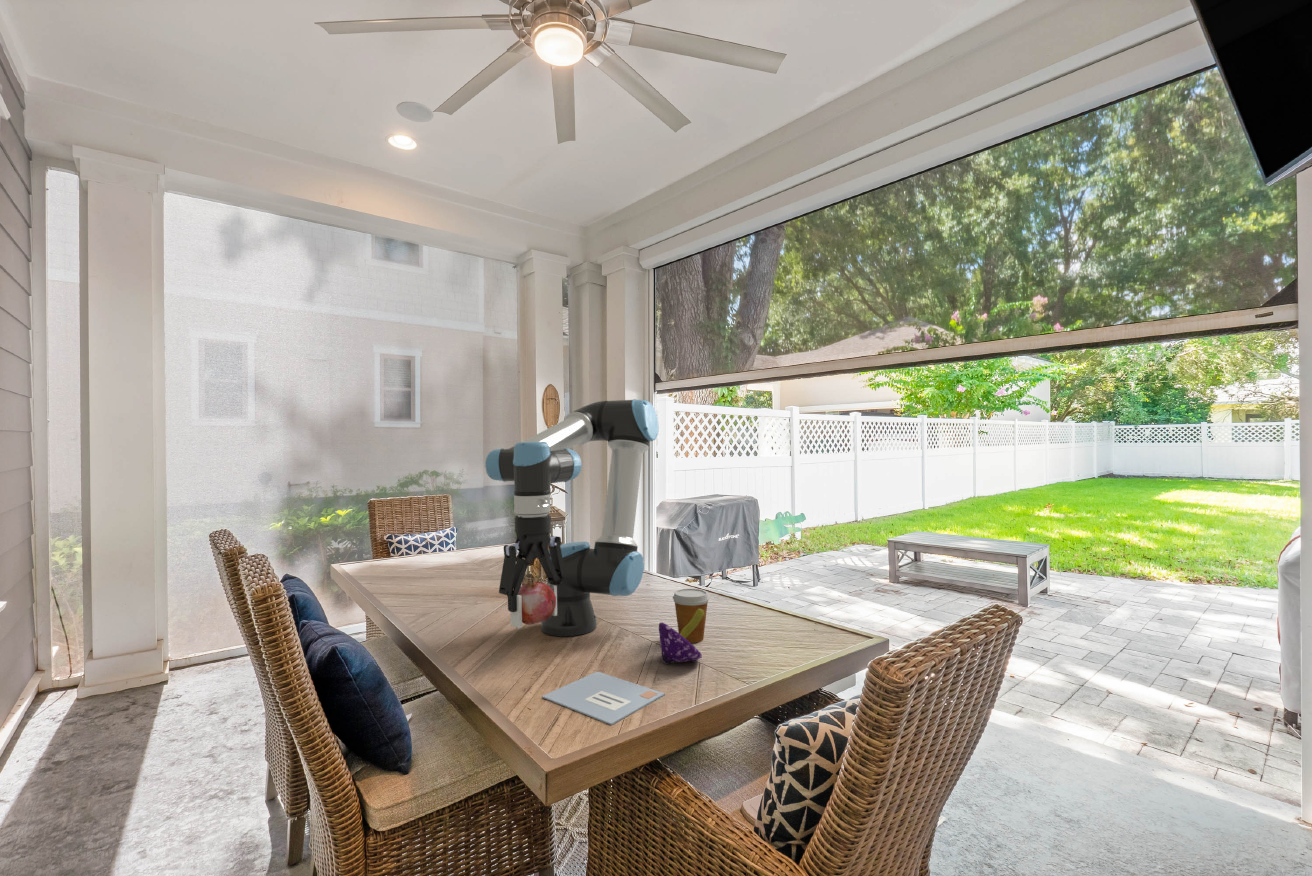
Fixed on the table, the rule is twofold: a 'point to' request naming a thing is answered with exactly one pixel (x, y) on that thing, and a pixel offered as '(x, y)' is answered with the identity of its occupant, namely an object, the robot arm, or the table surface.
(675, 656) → the decorative mushroom
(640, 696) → the letter
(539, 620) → the fruit
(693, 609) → the disposable coffee cup
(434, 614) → the table surface
